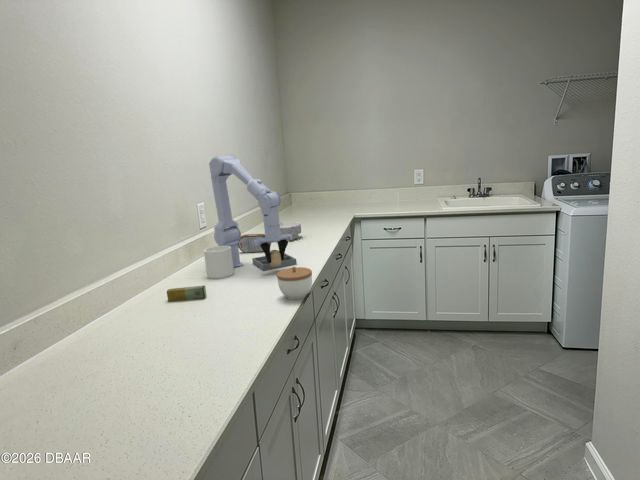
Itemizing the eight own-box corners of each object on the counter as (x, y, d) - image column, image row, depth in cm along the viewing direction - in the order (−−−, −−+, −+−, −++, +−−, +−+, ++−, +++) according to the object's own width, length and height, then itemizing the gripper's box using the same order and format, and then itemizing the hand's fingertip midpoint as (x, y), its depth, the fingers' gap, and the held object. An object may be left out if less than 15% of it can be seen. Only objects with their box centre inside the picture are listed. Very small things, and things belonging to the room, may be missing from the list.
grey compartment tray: (263, 270, 162) (262, 265, 162) (252, 263, 175) (252, 258, 174) (296, 264, 168) (296, 258, 168) (284, 257, 180) (283, 252, 180)
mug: (226, 279, 156) (222, 252, 153) (202, 278, 159) (198, 252, 156) (241, 269, 167) (238, 244, 165) (219, 269, 170) (216, 244, 168)
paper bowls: (301, 241, 210) (299, 225, 208) (270, 243, 211) (268, 227, 209) (302, 235, 225) (301, 220, 223) (274, 237, 225) (272, 222, 224)
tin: (271, 250, 195) (270, 232, 193) (270, 252, 192) (268, 234, 190) (240, 252, 197) (237, 234, 195) (238, 254, 194) (235, 236, 192)
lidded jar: (282, 304, 125) (279, 274, 123) (276, 293, 135) (273, 265, 133) (317, 298, 128) (315, 268, 126) (309, 288, 138) (306, 260, 136)
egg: (272, 267, 157) (270, 252, 156) (268, 264, 161) (266, 249, 160) (283, 265, 159) (281, 250, 158) (279, 262, 163) (277, 247, 162)
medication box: (207, 296, 138) (205, 284, 138) (205, 299, 136) (204, 287, 135) (170, 300, 138) (168, 288, 137) (167, 302, 135) (165, 290, 135)
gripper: (256, 229, 150) (260, 266, 153) (294, 224, 156) (297, 259, 159) (250, 227, 157) (254, 262, 159) (287, 221, 162) (290, 256, 165)
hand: (275, 261), depth 160 cm, fingers closed on egg, 4 cm apart
